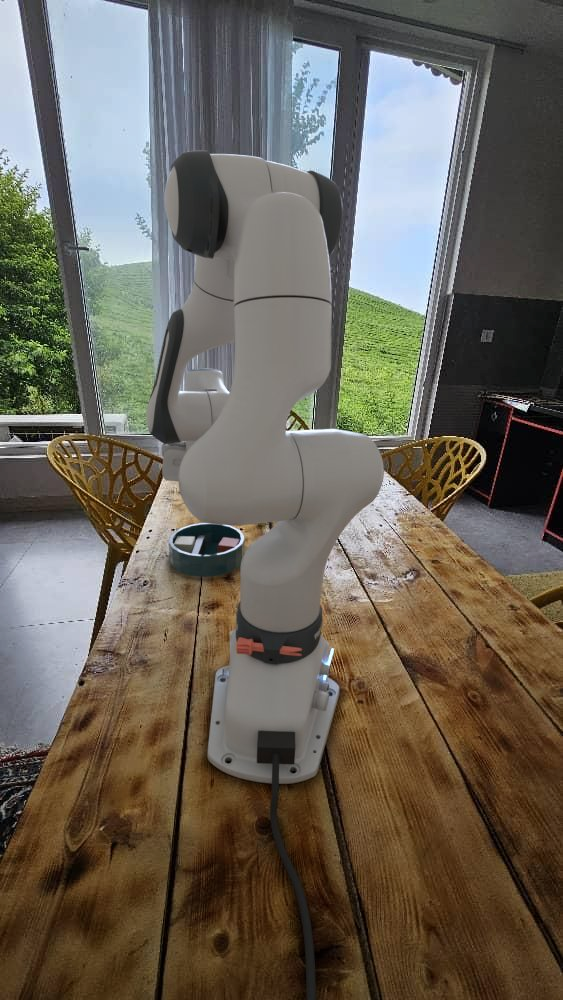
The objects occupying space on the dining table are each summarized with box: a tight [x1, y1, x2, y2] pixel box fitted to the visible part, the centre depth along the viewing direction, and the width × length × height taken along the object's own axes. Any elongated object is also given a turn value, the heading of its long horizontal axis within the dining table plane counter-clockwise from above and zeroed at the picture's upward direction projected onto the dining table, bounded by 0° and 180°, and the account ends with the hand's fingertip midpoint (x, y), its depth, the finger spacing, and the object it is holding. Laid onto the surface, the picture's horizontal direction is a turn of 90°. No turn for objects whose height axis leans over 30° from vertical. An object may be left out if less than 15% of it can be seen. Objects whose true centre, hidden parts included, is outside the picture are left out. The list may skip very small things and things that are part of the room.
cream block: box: [174, 536, 195, 553], centre depth 101 cm, size 4×4×4 cm
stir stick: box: [191, 535, 205, 555], centre depth 100 cm, size 12×2×3 cm, turn 0°
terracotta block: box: [218, 537, 240, 553], centre depth 101 cm, size 4×4×4 cm
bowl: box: [168, 522, 246, 578], centre depth 101 cm, size 17×17×6 cm
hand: (207, 500), depth 104 cm, fingers closed
